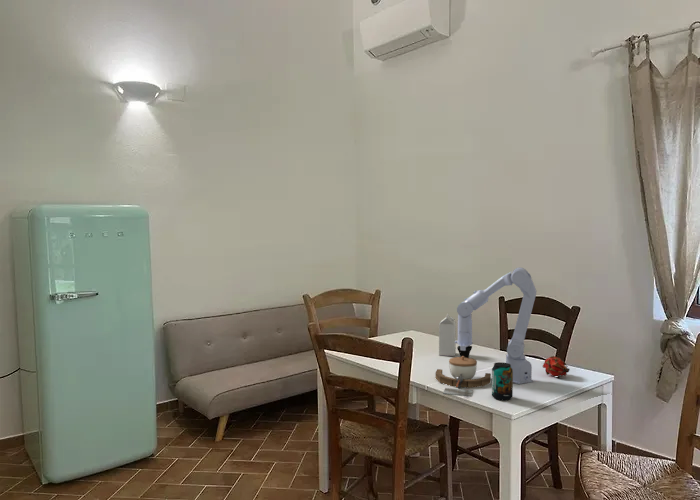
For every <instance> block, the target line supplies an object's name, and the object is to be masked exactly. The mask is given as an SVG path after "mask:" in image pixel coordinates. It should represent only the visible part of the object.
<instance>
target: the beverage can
mask: <svg viewBox="0 0 700 500" xmlns="http://www.w3.org/2000/svg"><path fill="white" fill-rule="evenodd" d="M491 396H492V398H493V399H495V400H497V401H501V400H507V401H510V400H511V399H513V370H512V368H511V365H510V364H508V363H506V362H500V361H499V362H495V363H493V367H492V368H491Z"/></svg>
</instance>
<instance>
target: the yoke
mask: <svg viewBox="0 0 700 500" xmlns="http://www.w3.org/2000/svg"><path fill="white" fill-rule="evenodd" d="M434 374H435V377H434V378H436V379H437V380H438V383H440V382H441V383H440V384H442V383H444V384H443V385H445V384H447V385H446V386H449V385H450V386H449V387H445V388H444V390H443V392H442V394H443V395H453V396H462V395H465V396H464V397H472V396H473V392H474V391H473V390H471V389H472V388H482V387H485V386H487V385H490V384H491V382H492V372H490V373H488V372H485V375H484V376H482V377H479V378H472V379H469V380H465V379H463V383H459V385H458V387H457V388H450V387H453V386H456V384H457V382H456V379H455V378H454V377H450V376H446V375H444V374H443V369H441V368H440V369H439V368H437V369H436V371H435V373H434ZM436 379H435V380H436ZM437 380H436V381H437ZM464 387H466V388H468V389H463V388H464ZM458 388H461V389H458ZM470 388H471V389H470Z"/></svg>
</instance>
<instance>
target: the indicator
mask: <svg viewBox="0 0 700 500" xmlns="http://www.w3.org/2000/svg"><path fill="white" fill-rule="evenodd" d="M456 382H457V384H456V388H458V385H459V383H463V377H462V374H460V376H457V377H456Z"/></svg>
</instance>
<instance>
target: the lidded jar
mask: <svg viewBox="0 0 700 500" xmlns="http://www.w3.org/2000/svg"><path fill="white" fill-rule="evenodd" d="M448 362H449V365H448V367H449V372H450V374H451V376H452V378H454V379H456V377H457V376H460V374H462V377H463V379H465V380H469V379H474V377H475V376H476V372H477V368H478V367H477V364H478V361H477V360H476V359H475V358H472V357H469V358H468V357H464V356H462V357H460V356H456V357H455V356H453V357H451V358H450V359H448Z"/></svg>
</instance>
